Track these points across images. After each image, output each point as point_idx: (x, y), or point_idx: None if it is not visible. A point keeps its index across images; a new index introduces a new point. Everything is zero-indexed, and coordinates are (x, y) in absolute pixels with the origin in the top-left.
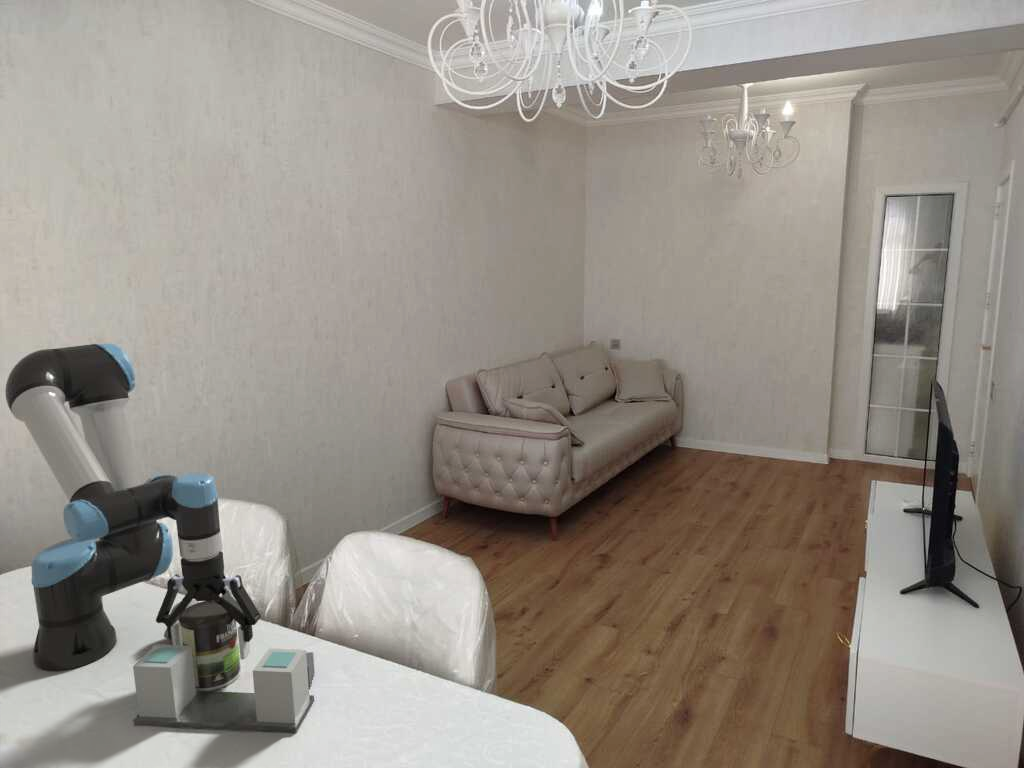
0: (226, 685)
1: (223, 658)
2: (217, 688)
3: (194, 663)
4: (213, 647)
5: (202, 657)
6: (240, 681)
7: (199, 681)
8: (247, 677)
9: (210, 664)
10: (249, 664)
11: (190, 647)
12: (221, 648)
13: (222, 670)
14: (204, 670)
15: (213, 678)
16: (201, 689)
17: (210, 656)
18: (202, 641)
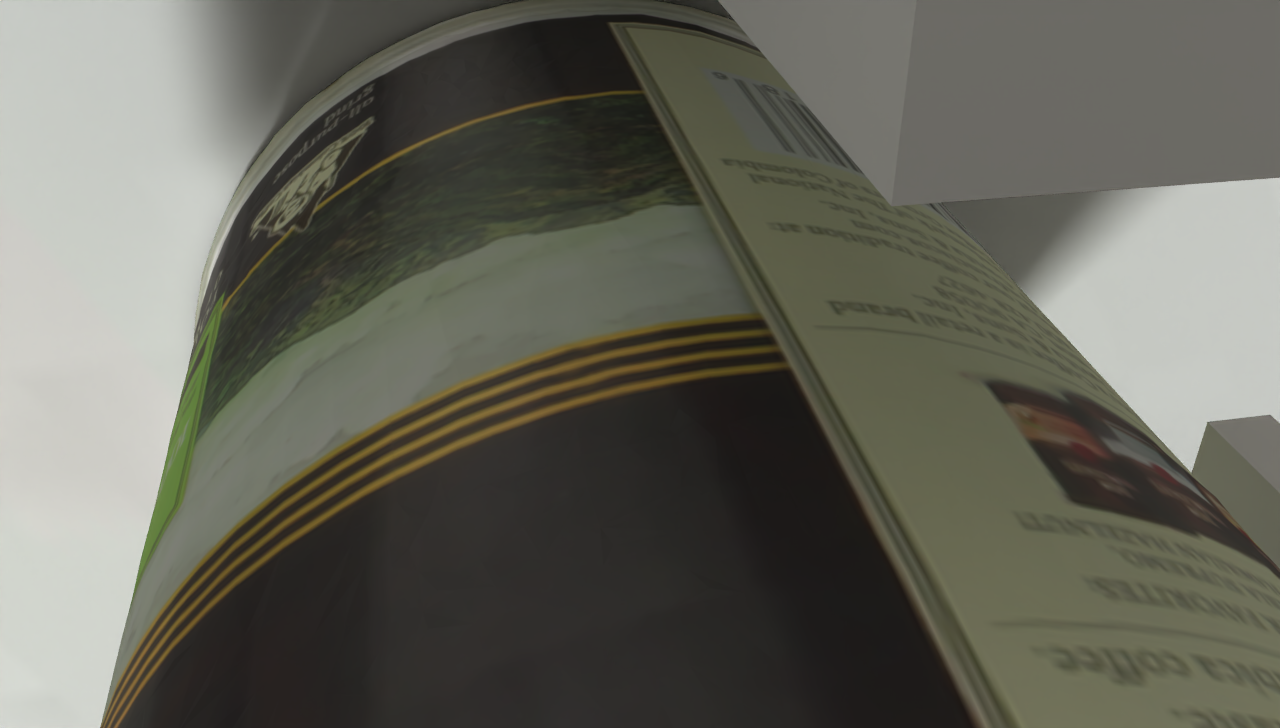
0: (239, 186)
1: (188, 478)
2: (329, 87)
3: (771, 209)
4: (288, 610)
5: (581, 316)
6: (102, 318)
7: (612, 56)
8: (63, 415)
9: (400, 269)
10: None
11: (885, 92)
12: (153, 659)
13: (238, 298)
14: (522, 162)
15: (367, 139)
16: (568, 11)
17: (382, 387)
18: (618, 696)
